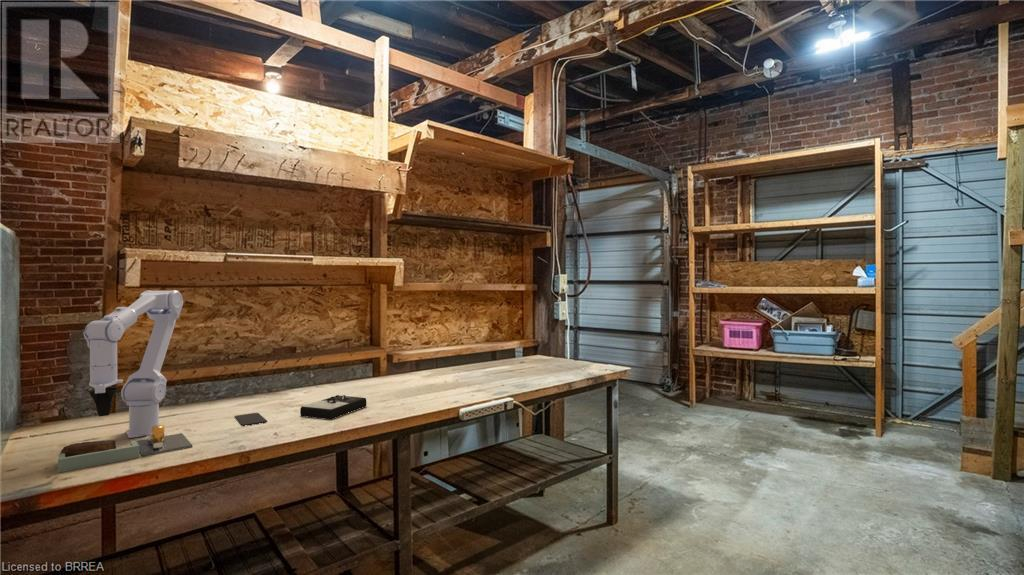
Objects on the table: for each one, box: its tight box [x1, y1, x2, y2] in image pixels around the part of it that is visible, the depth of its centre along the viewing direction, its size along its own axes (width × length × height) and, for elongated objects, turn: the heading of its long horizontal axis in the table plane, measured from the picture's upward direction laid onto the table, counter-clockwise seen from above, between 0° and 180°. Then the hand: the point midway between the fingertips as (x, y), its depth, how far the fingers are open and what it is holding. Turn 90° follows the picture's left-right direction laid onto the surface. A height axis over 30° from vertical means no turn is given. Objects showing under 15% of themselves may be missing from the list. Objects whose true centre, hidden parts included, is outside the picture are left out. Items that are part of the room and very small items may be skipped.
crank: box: [146, 424, 165, 448], centre depth 137 cm, size 10×4×5 cm, turn 40°
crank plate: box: [136, 432, 193, 457], centre depth 139 cm, size 15×11×1 cm
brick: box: [59, 439, 117, 457], centre depth 126 cm, size 11×4×5 cm, turn 103°
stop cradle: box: [57, 440, 140, 473], centre depth 126 cm, size 6×16×3 cm, turn 133°
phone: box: [234, 412, 268, 427], centre depth 165 cm, size 7×1×15 cm
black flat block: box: [299, 394, 368, 420], centre depth 176 cm, size 13×19×5 cm
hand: (104, 415), depth 135 cm, fingers closed
